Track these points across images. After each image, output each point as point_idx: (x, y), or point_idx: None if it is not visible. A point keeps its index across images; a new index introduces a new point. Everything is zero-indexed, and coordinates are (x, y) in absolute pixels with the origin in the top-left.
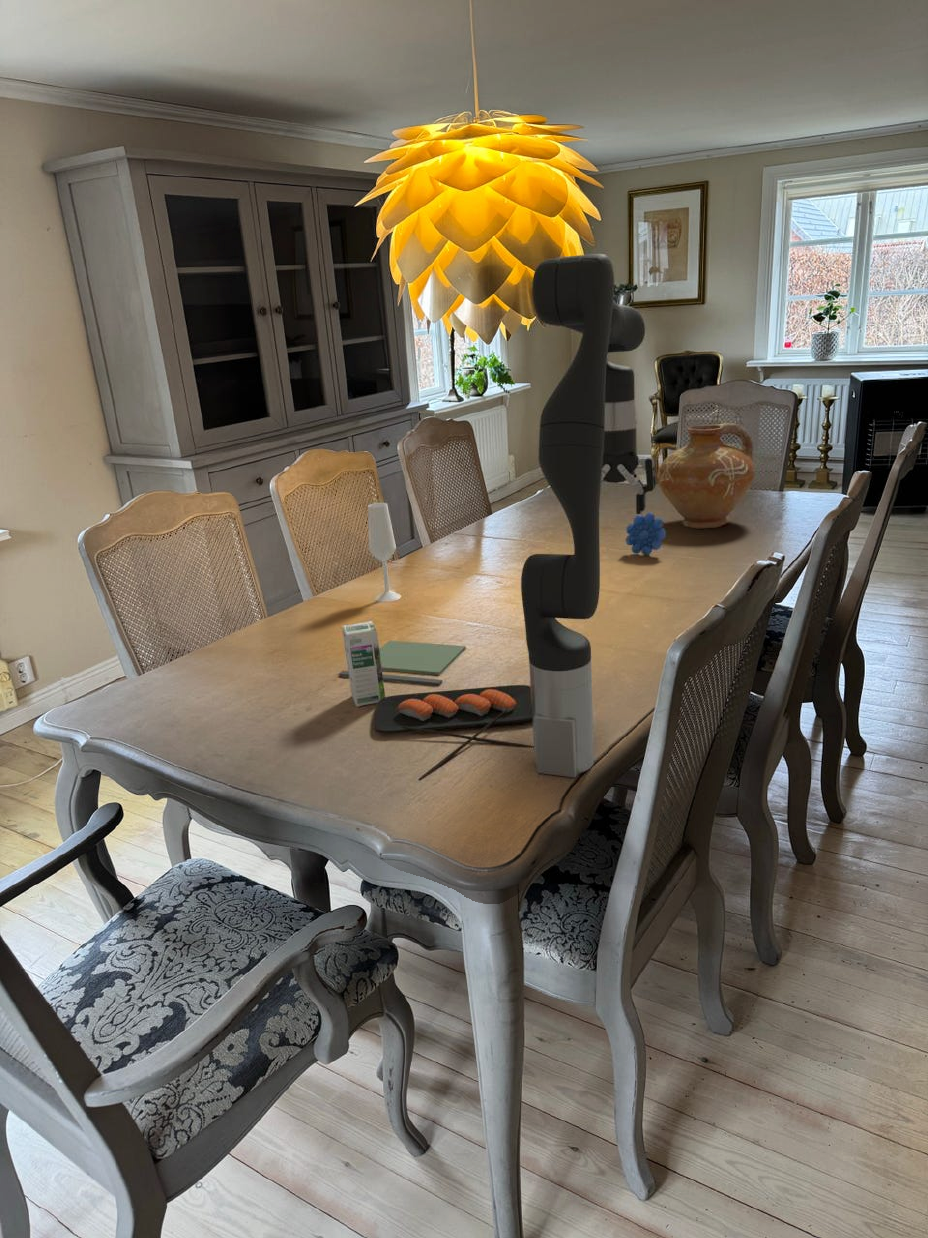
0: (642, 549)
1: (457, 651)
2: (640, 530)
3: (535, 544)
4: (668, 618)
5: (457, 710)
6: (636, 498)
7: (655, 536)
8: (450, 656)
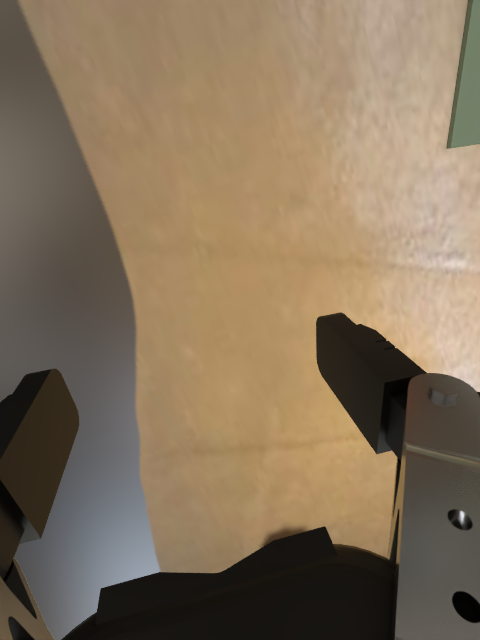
0: None
1: (460, 116)
2: None
3: None
4: (168, 390)
5: None
6: (5, 444)
7: None
8: (468, 84)
